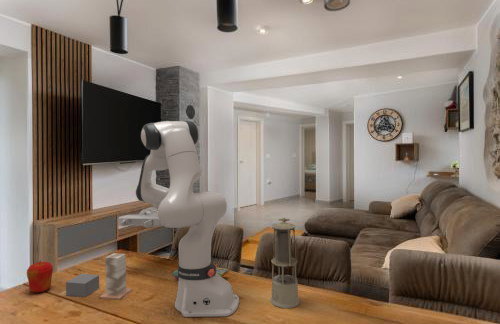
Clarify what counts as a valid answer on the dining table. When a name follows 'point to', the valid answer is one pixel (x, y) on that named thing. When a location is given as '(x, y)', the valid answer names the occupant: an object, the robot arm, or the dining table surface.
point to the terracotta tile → (116, 296)
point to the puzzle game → (218, 270)
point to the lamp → (283, 284)
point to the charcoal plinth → (82, 285)
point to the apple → (40, 276)
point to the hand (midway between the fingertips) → (132, 224)
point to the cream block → (115, 274)
